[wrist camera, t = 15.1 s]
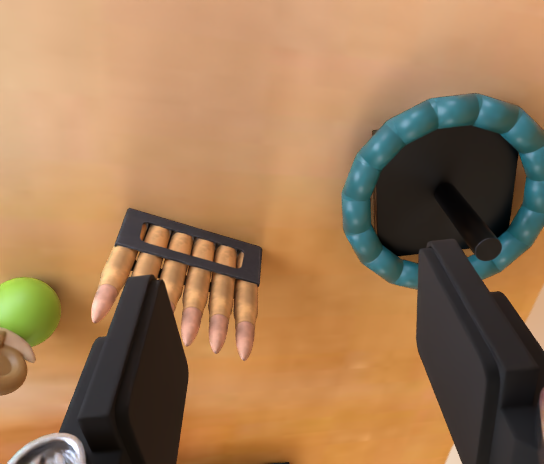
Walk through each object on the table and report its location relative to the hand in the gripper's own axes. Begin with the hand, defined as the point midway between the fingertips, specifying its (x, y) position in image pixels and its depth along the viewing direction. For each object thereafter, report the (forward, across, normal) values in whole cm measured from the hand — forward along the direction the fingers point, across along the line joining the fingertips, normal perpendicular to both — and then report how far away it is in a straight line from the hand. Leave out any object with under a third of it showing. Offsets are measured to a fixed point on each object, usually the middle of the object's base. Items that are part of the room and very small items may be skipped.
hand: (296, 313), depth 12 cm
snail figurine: (+25, +21, +15) cm, 37 cm away
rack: (+25, -12, +10) cm, 30 cm away
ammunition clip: (+26, +7, +12) cm, 29 cm away
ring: (+23, -12, +10) cm, 28 cm away
